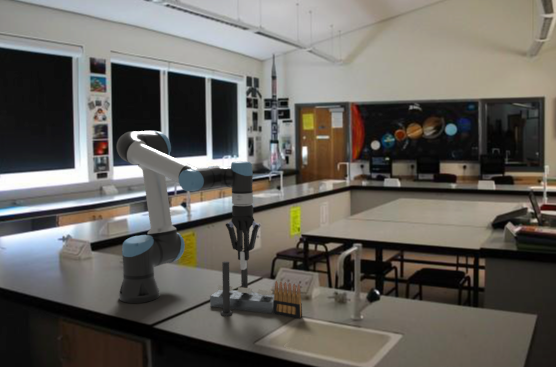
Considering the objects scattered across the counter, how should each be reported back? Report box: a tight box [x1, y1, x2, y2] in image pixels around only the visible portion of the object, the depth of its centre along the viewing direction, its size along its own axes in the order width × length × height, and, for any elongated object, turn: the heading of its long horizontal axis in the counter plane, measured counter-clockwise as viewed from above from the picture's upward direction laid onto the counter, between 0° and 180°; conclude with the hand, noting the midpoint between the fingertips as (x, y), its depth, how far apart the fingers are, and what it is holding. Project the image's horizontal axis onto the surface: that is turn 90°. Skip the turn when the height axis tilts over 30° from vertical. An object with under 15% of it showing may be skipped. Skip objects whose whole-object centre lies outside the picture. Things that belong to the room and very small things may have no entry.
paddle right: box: [257, 288, 273, 296], centre depth 196 cm, size 4×5×2 cm
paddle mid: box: [237, 286, 253, 293], centre depth 199 cm, size 4×5×2 cm
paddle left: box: [217, 284, 233, 291], centre depth 202 cm, size 4×5×2 cm
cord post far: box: [240, 263, 249, 288], centre depth 206 cm, size 4×4×19 cm
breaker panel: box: [209, 289, 274, 315], centre depth 199 cm, size 24×9×4 cm, turn 71°
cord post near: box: [220, 260, 233, 317], centre depth 190 cm, size 4×4×19 cm
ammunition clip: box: [272, 280, 303, 320], centre depth 189 cm, size 11×2×12 cm, turn 62°
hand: (243, 268), depth 196 cm, fingers closed
